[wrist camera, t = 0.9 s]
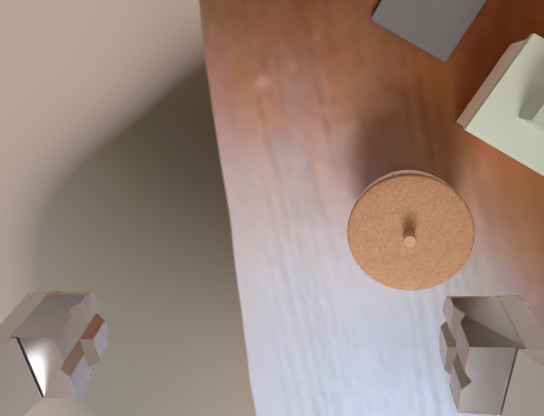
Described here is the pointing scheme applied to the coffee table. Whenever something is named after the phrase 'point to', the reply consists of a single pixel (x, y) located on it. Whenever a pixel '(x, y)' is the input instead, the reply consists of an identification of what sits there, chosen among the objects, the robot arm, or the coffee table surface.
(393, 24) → the mat
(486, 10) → the coffee table surface
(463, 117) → the cream box
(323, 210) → the coffee table surface
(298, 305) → the coffee table surface
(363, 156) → the coffee table surface
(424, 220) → the lidded jar
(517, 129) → the lid
